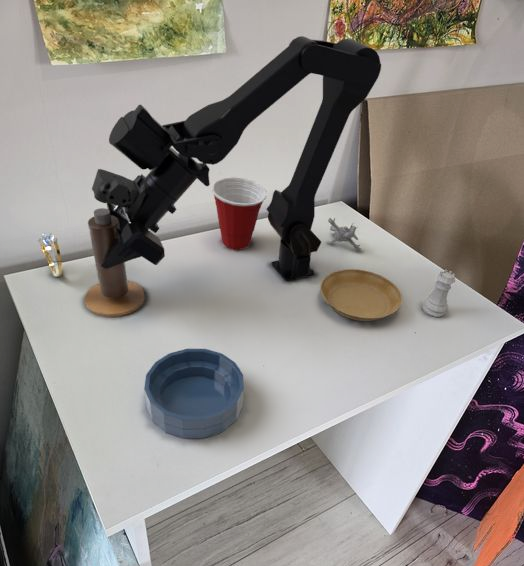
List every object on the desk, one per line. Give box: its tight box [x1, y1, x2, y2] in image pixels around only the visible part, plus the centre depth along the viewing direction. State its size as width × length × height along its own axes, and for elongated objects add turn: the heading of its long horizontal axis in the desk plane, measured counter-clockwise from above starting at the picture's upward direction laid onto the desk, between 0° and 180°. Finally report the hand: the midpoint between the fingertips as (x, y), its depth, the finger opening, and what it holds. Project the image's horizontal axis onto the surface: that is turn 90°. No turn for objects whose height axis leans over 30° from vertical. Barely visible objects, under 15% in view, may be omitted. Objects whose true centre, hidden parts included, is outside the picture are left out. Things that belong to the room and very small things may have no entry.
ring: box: [36, 232, 63, 278], centre depth 87 cm, size 7×3×8 cm, turn 32°
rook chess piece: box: [421, 269, 456, 318], centre depth 87 cm, size 4×4×8 cm
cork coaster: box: [84, 280, 146, 318], centre depth 85 cm, size 10×10×1 cm
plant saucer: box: [319, 268, 403, 322], centre depth 89 cm, size 15×15×3 cm
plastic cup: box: [211, 176, 268, 251], centre depth 99 cm, size 11×11×12 cm
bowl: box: [143, 348, 245, 439], centre depth 68 cm, size 13×13×4 cm
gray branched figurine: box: [327, 217, 362, 253], centre depth 104 cm, size 10×6×9 cm
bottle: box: [87, 207, 128, 298], centre depth 79 cm, size 5×5×15 cm
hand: (100, 259), depth 80 cm, fingers closed on bottle, 4 cm apart
